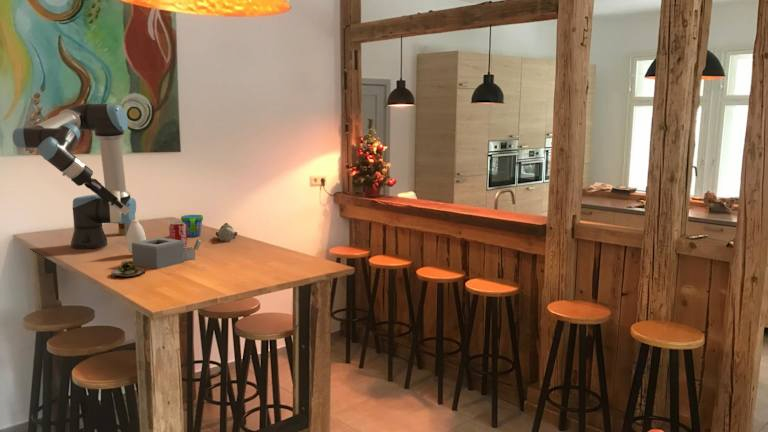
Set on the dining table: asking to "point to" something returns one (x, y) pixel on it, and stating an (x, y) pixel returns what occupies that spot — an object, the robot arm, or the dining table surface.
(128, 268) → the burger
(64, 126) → the robot arm
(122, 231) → the canned food
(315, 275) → the dining table surface
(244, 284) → the dining table surface
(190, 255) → the lighter
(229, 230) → the ceramic sculpture
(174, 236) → the soda can
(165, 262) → the gray square-hole box
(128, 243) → the sauce bottle
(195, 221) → the snack cup
